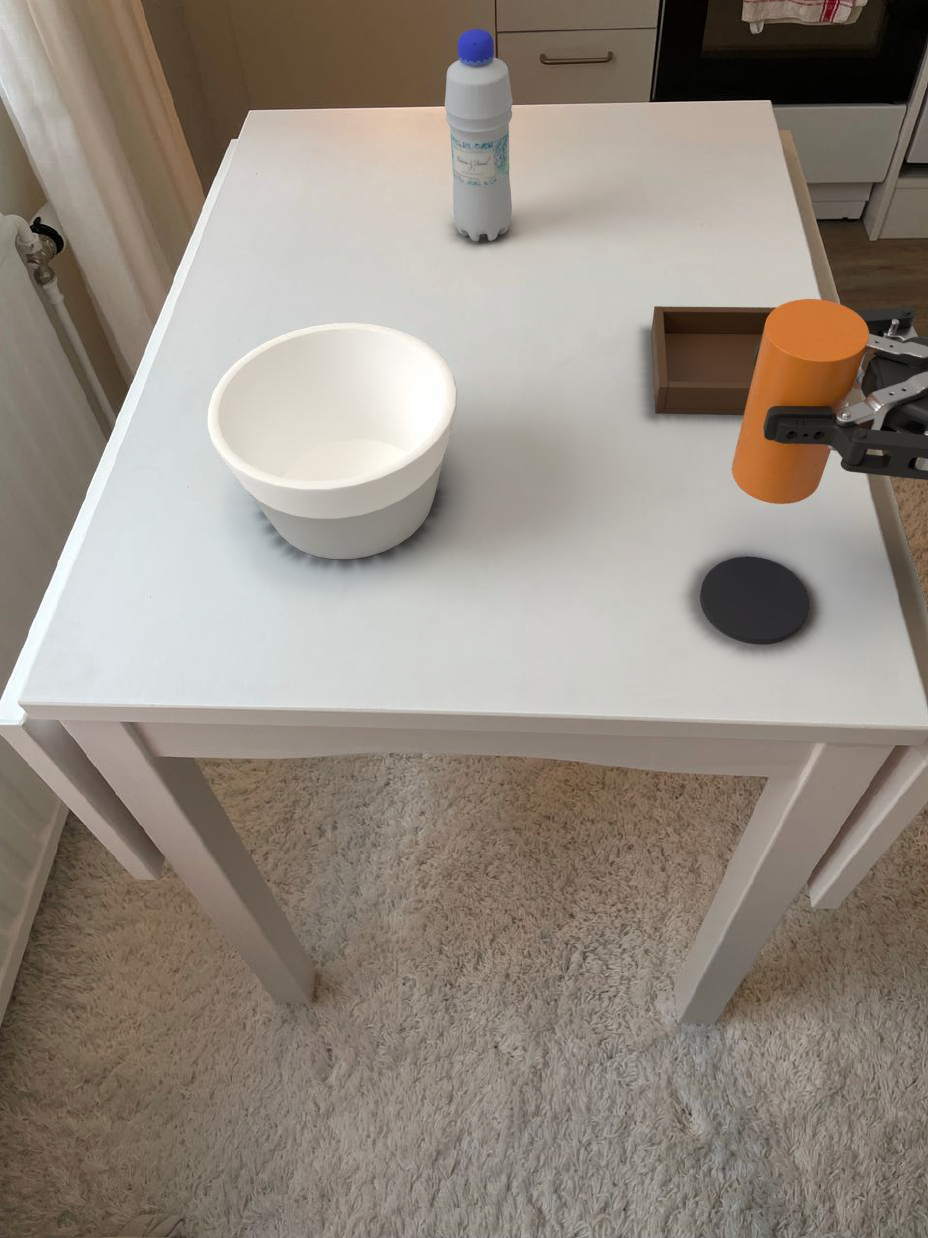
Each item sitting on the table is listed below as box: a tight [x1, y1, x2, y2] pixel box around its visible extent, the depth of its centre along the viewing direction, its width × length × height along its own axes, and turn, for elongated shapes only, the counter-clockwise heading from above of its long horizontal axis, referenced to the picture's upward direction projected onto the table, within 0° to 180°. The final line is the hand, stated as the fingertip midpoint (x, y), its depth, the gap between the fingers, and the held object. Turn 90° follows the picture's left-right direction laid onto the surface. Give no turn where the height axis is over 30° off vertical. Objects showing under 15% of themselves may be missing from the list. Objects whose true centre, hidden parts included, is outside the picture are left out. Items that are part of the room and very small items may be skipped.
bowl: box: [207, 322, 458, 560], centre depth 77 cm, size 19×19×11 cm
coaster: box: [699, 556, 810, 645], centre depth 73 cm, size 8×8×1 cm
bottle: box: [444, 28, 514, 242], centre depth 97 cm, size 7×7×20 cm
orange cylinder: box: [731, 298, 869, 505], centre depth 62 cm, size 6×6×12 cm
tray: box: [650, 305, 778, 415], centre depth 88 cm, size 12×12×3 cm
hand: (761, 387), depth 61 cm, fingers closed on orange cylinder, 6 cm apart
